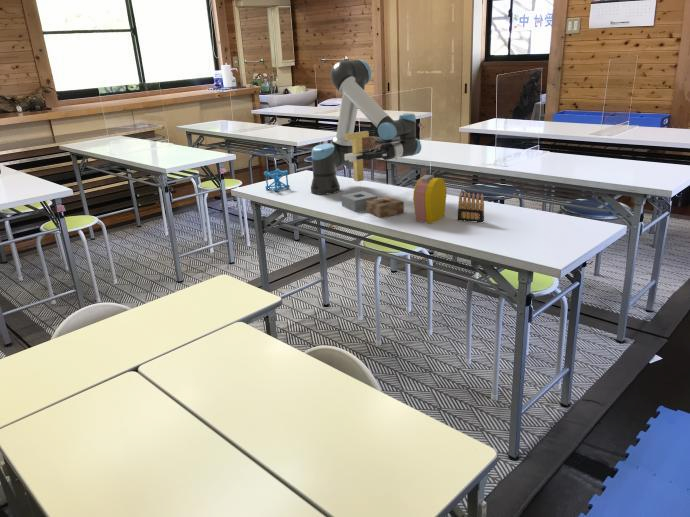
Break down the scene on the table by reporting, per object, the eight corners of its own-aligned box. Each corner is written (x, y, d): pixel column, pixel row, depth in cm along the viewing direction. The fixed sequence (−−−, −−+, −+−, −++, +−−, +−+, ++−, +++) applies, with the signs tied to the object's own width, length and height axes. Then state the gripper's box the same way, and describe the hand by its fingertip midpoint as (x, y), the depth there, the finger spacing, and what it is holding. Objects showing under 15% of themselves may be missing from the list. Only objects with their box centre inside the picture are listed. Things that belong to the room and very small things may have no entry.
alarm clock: (428, 212, 236) (429, 171, 230) (446, 215, 232) (446, 172, 225) (412, 222, 225) (411, 178, 218) (430, 224, 221) (430, 180, 214)
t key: (346, 181, 246) (344, 133, 238) (367, 177, 251) (365, 130, 243) (350, 182, 243) (347, 134, 235) (371, 179, 248) (369, 131, 240)
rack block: (341, 205, 254) (341, 195, 252) (363, 201, 259) (363, 191, 257) (355, 211, 244) (354, 200, 242) (377, 206, 249) (377, 196, 247)
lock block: (366, 211, 242) (365, 201, 240) (388, 207, 248) (388, 196, 246) (381, 218, 232) (380, 206, 231) (403, 212, 238) (403, 201, 236)
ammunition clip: (457, 220, 224) (457, 192, 220) (458, 219, 226) (459, 191, 221) (482, 222, 219) (484, 194, 215) (484, 221, 221) (485, 192, 216)
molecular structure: (279, 186, 297) (278, 168, 294) (290, 188, 290) (289, 170, 287) (264, 189, 291) (262, 171, 287) (275, 192, 284) (273, 173, 280)
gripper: (401, 161, 246) (357, 169, 235) (381, 156, 259) (338, 163, 248) (401, 144, 243) (356, 151, 232) (381, 140, 256) (337, 147, 246)
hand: (347, 158), depth 240 cm, fingers closed on t key, 3 cm apart
